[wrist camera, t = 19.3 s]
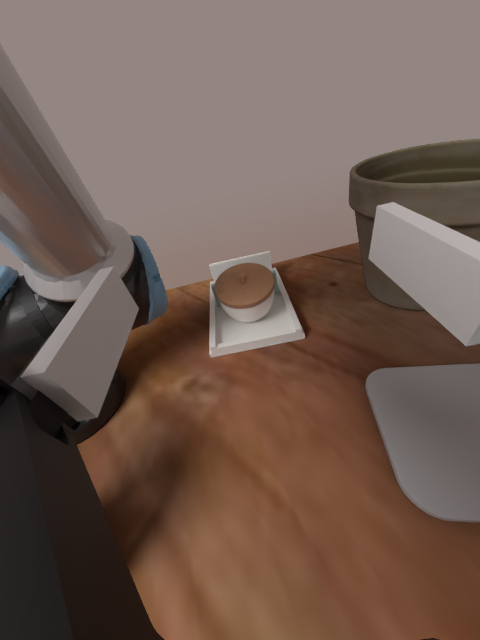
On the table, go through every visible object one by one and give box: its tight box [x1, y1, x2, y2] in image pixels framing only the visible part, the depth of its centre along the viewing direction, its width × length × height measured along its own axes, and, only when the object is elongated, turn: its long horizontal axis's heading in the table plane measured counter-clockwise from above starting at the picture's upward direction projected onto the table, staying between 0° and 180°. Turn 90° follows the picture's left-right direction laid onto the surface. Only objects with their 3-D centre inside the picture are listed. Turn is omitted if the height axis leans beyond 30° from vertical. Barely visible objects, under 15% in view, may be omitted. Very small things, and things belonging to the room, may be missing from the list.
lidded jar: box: [214, 263, 275, 322], centre depth 45 cm, size 11×11×9 cm
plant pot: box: [349, 139, 480, 310], centre depth 40 cm, size 25×25×22 cm
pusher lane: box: [209, 251, 305, 357], centre depth 49 cm, size 22×17×7 cm
